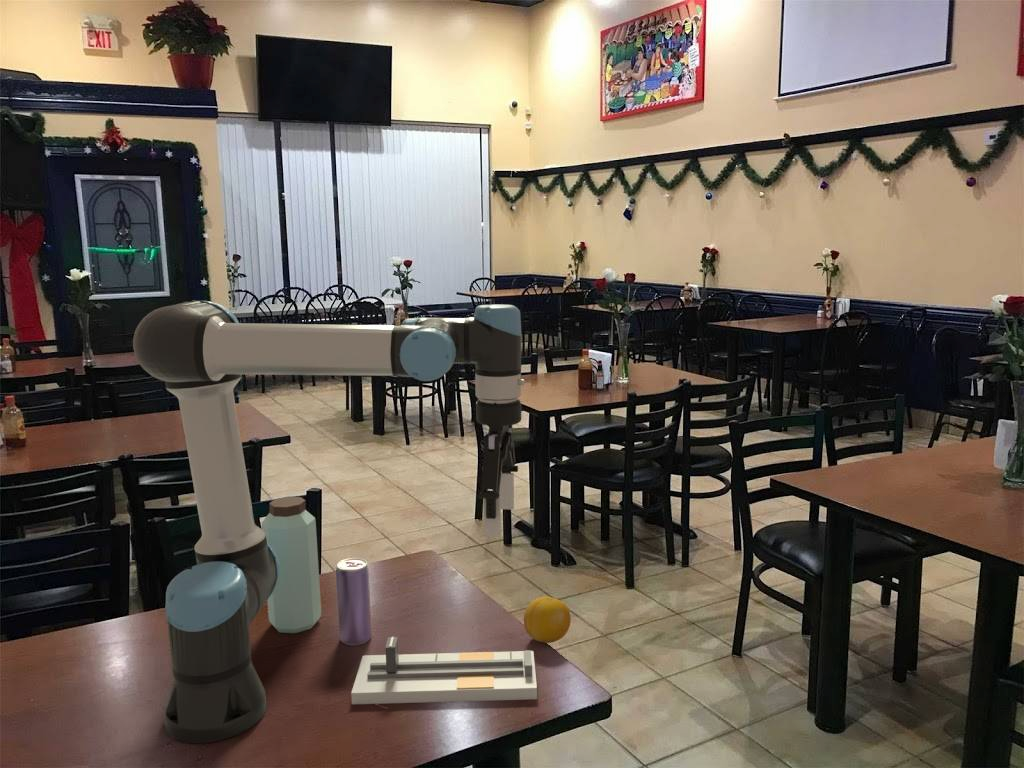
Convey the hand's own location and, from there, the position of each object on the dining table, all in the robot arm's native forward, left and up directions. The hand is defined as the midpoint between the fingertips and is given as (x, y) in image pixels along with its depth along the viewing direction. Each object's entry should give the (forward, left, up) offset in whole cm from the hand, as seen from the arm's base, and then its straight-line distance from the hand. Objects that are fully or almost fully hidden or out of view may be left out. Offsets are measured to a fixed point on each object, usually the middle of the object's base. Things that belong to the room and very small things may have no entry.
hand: (499, 521), depth 137 cm
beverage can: (-27, +11, -27) cm, 40 cm away
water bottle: (-40, +18, -27) cm, 52 cm away
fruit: (+9, +9, -27) cm, 30 cm away
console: (-9, -5, -27) cm, 29 cm away
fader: (-18, -5, -24) cm, 31 cm away
